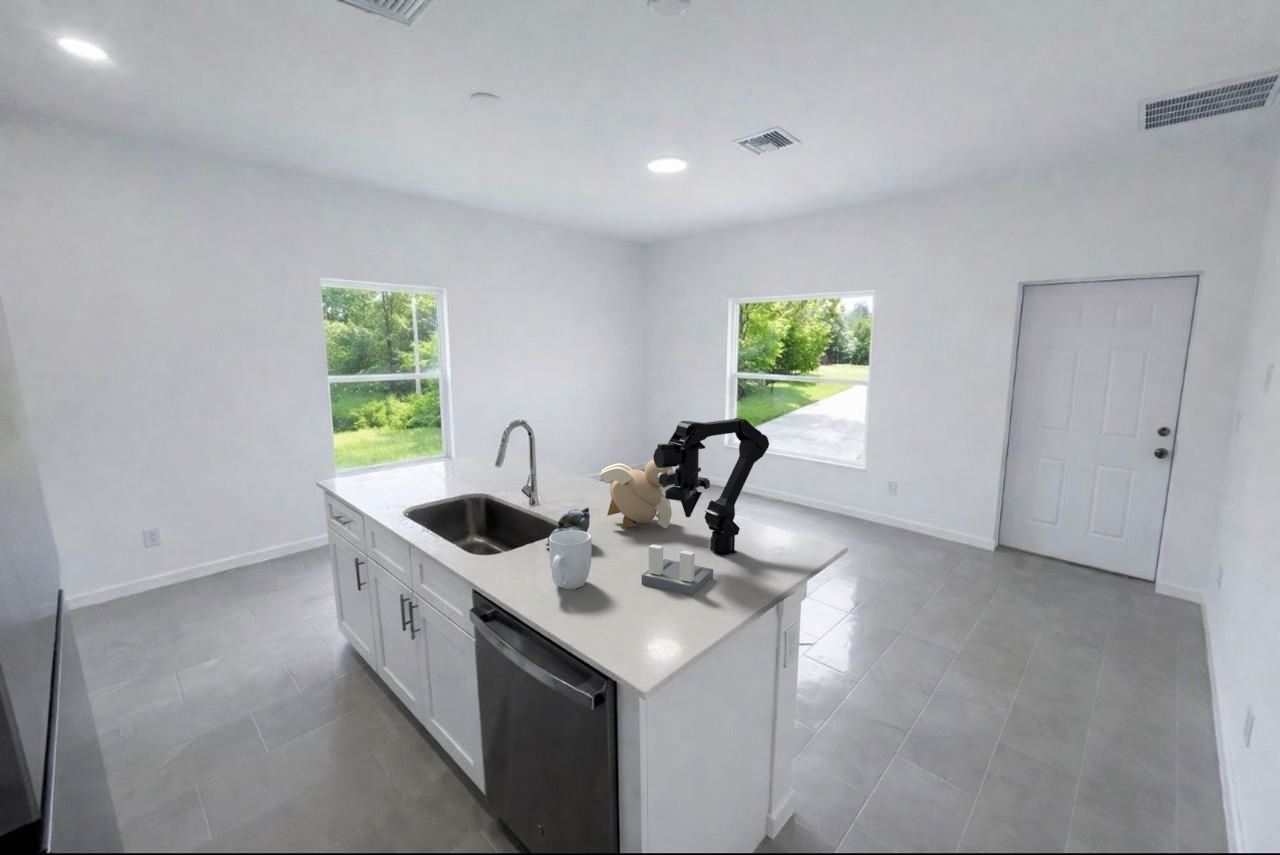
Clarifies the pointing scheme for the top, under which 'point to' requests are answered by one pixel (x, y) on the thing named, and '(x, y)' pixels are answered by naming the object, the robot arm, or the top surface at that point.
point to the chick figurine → (637, 494)
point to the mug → (570, 558)
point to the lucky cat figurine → (573, 521)
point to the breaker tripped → (656, 559)
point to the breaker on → (687, 566)
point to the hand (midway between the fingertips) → (688, 516)
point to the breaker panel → (678, 578)
